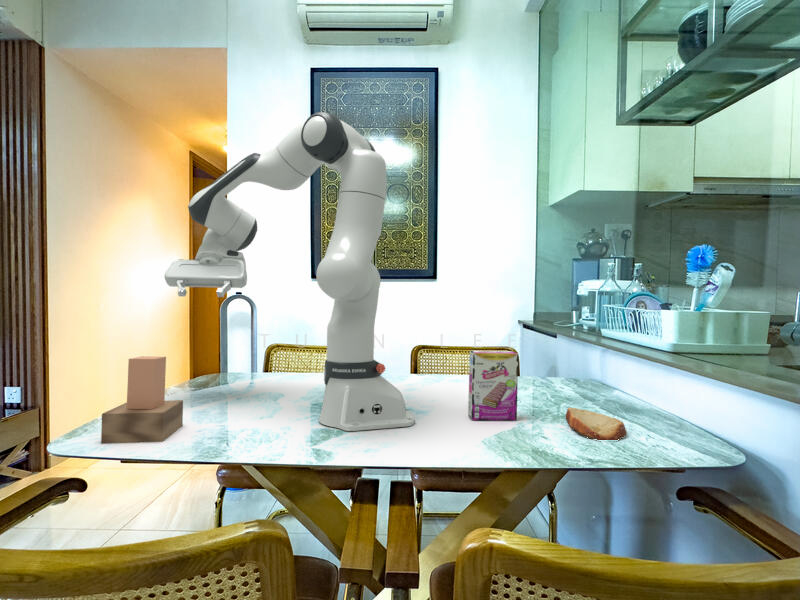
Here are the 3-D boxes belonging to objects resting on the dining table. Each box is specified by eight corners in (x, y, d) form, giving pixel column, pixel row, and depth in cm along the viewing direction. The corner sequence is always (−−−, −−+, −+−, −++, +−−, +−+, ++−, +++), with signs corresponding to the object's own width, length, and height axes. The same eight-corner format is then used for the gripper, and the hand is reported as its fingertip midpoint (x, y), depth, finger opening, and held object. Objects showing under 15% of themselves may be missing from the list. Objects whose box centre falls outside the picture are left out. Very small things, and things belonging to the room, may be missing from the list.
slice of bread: (574, 414, 111) (574, 400, 111) (648, 431, 96) (648, 414, 96) (532, 425, 100) (532, 409, 100) (608, 446, 85) (609, 427, 86)
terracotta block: (164, 403, 91) (166, 356, 91) (152, 408, 86) (154, 359, 86) (139, 403, 91) (141, 356, 91) (126, 408, 86) (128, 358, 86)
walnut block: (182, 427, 95) (183, 400, 95) (162, 443, 84) (163, 412, 84) (128, 428, 93) (129, 401, 93) (101, 445, 82) (101, 413, 82)
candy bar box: (472, 421, 102) (472, 352, 102) (467, 415, 107) (468, 350, 107) (518, 421, 102) (519, 352, 102) (512, 416, 107) (512, 350, 107)
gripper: (170, 250, 116) (153, 285, 106) (248, 253, 119) (239, 286, 109) (176, 268, 120) (160, 303, 110) (251, 270, 123) (243, 304, 113)
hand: (200, 295), depth 109 cm, fingers open, 8 cm apart
